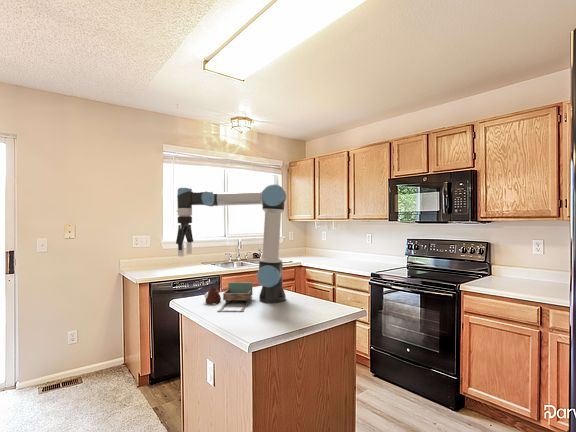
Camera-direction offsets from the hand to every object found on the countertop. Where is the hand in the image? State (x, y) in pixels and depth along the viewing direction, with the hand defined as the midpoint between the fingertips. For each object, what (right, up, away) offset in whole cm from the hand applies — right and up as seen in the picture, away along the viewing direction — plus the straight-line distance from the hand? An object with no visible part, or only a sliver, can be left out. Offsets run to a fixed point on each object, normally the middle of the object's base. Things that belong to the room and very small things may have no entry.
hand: (185, 255), depth 180 cm
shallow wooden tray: (+28, -27, +6) cm, 39 cm away
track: (+28, -27, 0) cm, 39 cm away
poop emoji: (+14, -27, +5) cm, 31 cm away
